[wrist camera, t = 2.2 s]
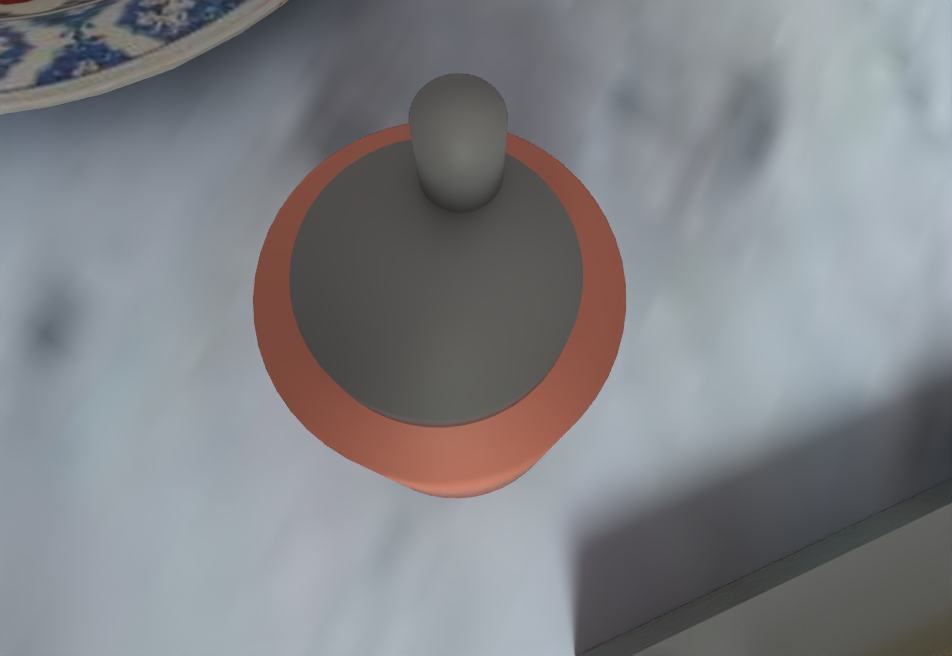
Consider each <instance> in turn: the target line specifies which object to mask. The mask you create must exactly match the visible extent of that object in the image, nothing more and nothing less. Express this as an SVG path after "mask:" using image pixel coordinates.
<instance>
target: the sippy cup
mask: <svg viewBox="0 0 952 656" xmlns="http://www.w3.org/2000/svg"><path fill="white" fill-rule="evenodd" d="M507 123H508V115H507V109H506V105H505V103H504V100H503V98H502V97H501V95H500V94H499V92H498V91H497V90H496V89H495V88H494V87H493V86H492V85H491V84H489V83H488V82H487V81H485V80H483V79H481V78H479V77H476V76H473V75H469V74H457V73H456V74H448V75H444V76H441V77H438V78H436V79H434V80H432V81H431V82H429V83H427V84H426V85H425V86H424V87H423V88H422V89H421V90H420V91H419V92H418V93H417V95H416V96H415V98H414V100H413V102H412V104H411V107H410V112H409V124H405V125H401V126H396V127H392V128H388V129H385V130H382V131H379V132H376V133H373V134H371V135H368V136H365V137H363V138H361V139H359V140H357V141H355V142H353V143H351V144H349V145H347V146H345V147H344V148H342V149H341V150H339V151H338V152H336V153H335V154H333V155H332V156H330V157H329V158H327V159H326V160H325V161H323V162H322V163H321V164H320V165H319V166H317V167H316V168H315V169H314V170H313V171H312V172H310V173H309V174H308V175H307V176H306V177H305V179H304V180H303V181H302V182H301V183H300V184H299V185H298V186H297V187H296V188H295V189H294V191H293V192H292V193H291V195H290V196H289V197H288V199H287V200H286V202H285V203H284V205H283V206H282V207H281V209H280V210H279V212H278V214H277V216H276V218H275V220H274V222H273V223H272V225H271V227H270V229H269V231H268V234H267V236H266V239H265V242H264V245H263V247H262V250H261V253H260V257H259V261H258V266H257V270H256V275H255V284H254V295H253V307H254V324H255V330H256V335H257V340H258V346H259V349H260V352H261V355H262V358H263V361H264V364H265V367H266V370H267V372H268V374H269V376H270V378H271V380H272V382H273V384H274V386H275V388H276V390H277V392H278V393H279V395H280V396H281V398H282V399H283V400H284V402H285V403H286V405H287V406H288V408H289V409H290V411H291V412H292V413H293V414H294V415H295V416H296V417H297V419H298V420H299V421H300V422H301V423H302V424H303V425H304V426H305V427H306V429H307V430H309V431H310V432H311V433H312V434H313V435H315V436H316V437H317V438H318V439H319V440H321V441H322V442H323V443H324V444H325V445H327V446H328V447H330V448H331V449H333V450H335V451H336V452H338V453H339V454H341V455H342V456H344V457H346V458H347V459H349V460H351V461H353V462H356V463H358V464H360V465H362V466H364V467H366V468H368V469H370V470H372V471H375V472H377V473H379V474H381V475H383V476H385V477H387V478H389V479H391V480H394V481H396V482H398V483H400V484H402V485H404V486H406V487H409V488H411V489H413V490H415V491H418V492H421V493H424V494H428V495H431V496H437V497H444V498H465V497H475V496H479V495H483V494H487V493H490V492H493V491H495V490H498V489H500V488H503V487H504V486H506V485H508V484H510V483H512V482H513V481H515V480H516V479H518V478H519V477H521V476H522V475H523V474H525V473H526V472H527V471H528V470H529V469H530V468H531V467H532V466H533V465H534V464H535V463H536V462H537V461H538V460H539V459H540V458H541V457H542V456H543V455H544V454H545V453H546V452H547V451H548V450H549V449H550V448H551V447H552V446H553V445H554V444H555V443H556V442H557V441H558V440H559V439H560V438H561V437H562V436H563V435H564V434H565V433H566V432H567V431H568V430H569V429H570V428H571V427H572V426H573V425H574V424H575V423H576V422H577V421H578V420H579V419H580V418H581V416H582V415H583V414H584V413H585V411H586V410H587V409H588V407H589V406H590V405H591V404H592V402H593V401H594V400H595V399H596V397H597V395H598V393H599V392H600V390H601V388H602V387H603V385H604V383H605V381H606V380H607V378H608V376H609V373H610V371H611V368H612V366H613V364H614V361H615V359H616V356H617V353H618V350H619V346H620V342H621V338H622V334H623V329H624V321H625V312H626V284H625V277H624V270H623V264H622V259H621V256H620V252H619V249H618V246H617V242H616V239H615V237H614V234H613V232H612V230H611V228H610V225H609V223H608V221H607V219H606V217H605V215H604V214H603V212H602V210H601V209H600V207H599V205H598V204H597V202H596V201H595V199H594V198H593V196H592V195H591V194H590V193H589V191H588V190H587V189H586V188H585V186H584V185H583V184H582V183H581V181H580V180H579V179H578V178H577V177H576V176H575V175H573V174H572V173H571V172H570V171H569V170H568V169H567V168H566V167H565V166H564V165H563V164H562V163H560V162H559V161H558V160H556V159H555V158H554V157H552V156H551V155H549V154H548V153H547V152H545V151H544V150H542V149H540V148H539V147H537V146H535V145H533V144H531V143H530V142H528V141H526V140H524V139H522V138H519V137H517V136H515V135H512V134H510V133H507Z"/></svg>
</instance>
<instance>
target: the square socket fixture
mask: <svg viewBox="0 0 952 656" xmlns="http://www.w3.org/2000/svg"><path fill="white" fill-rule="evenodd" d="M578 656H952V478H951V479H949V480H947V481H945V482H943V483H941V484H939V485H936V486H934V487H932V488H930V489H928V490H926V491H924V492H922V493H920V494H917V495H915V496H913V497H911V498H909V499H907V500H905V501H903V502H901V503H899V504H896V505H894V506H892V507H890V508H888V509H886V510H884V511H882V512H880V513H877V514H875V515H873V516H871V517H869V518H867V519H865V520H863V521H861V522H858V523H856V524H854V525H852V526H850V527H848V528H846V529H844V530H842V531H839V532H837V533H835V534H833V535H831V536H829V537H827V538H825V539H823V540H820V541H818V542H816V543H814V544H812V545H810V546H808V547H806V548H804V549H802V550H799V551H797V552H795V553H793V554H791V555H789V556H787V557H785V558H783V559H780V560H778V561H776V562H774V563H772V564H770V565H768V566H766V567H764V568H761V569H759V570H757V571H755V572H753V573H751V574H749V575H747V576H745V577H742V578H740V579H738V580H736V581H734V582H732V583H730V584H728V585H726V586H723V587H721V588H719V589H717V590H715V591H713V592H711V593H709V594H707V595H704V596H702V597H700V598H698V599H696V600H694V601H692V602H690V603H688V604H686V605H683V606H681V607H679V608H677V609H675V610H673V611H671V612H669V613H667V614H664V615H662V616H660V617H658V618H656V619H654V620H652V621H650V622H648V623H645V624H643V625H641V626H639V627H637V628H635V629H633V630H631V631H629V632H626V633H624V634H622V635H620V636H618V637H616V638H614V639H612V640H610V641H607V642H605V643H603V644H601V645H599V646H597V647H595V648H593V649H591V650H589V651H586V652H584V653H582V654H580V655H578Z"/></svg>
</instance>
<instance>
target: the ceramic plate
mask: <svg viewBox="0 0 952 656" xmlns="http://www.w3.org/2000/svg"><path fill="white" fill-rule="evenodd" d="M287 1H288V0H0V114H7V113H13V112H20V111H26V110H33V109H39V108H45V107H52V106H56V105H60V104H64V103H68V102H72V101H77V100H81V99H85V98H89V97H93V96H97V95H101V94H104V93H107V92H110V91H113V90H115V89H118V88H121V87H124V86H127V85H130V84H132V83H135V82H138V81H141V80H144V79H147V78H149V77H152V76H155V75H158V74H161V73H164V72H166V71H169V70H172V69H174V68H176V67H178V66H180V65H182V64H184V63H186V62H187V61H189V60H191V59H193V58H195V57H197V56H199V55H201V54H203V53H205V52H207V51H208V50H210V49H212V48H214V47H216V46H218V45H220V44H222V43H224V42H226V41H228V40H229V39H231V38H233V37H235V36H237V35H239V34H241V33H242V32H244V31H245V30H247V29H248V28H250V27H251V26H253V25H254V24H256V23H257V22H259V21H260V20H262V19H263V18H265V17H266V16H268V15H269V14H271V13H272V12H274V11H275V10H277V9H278V8H280V7H281V6H282V5H283V4H285V3H286V2H287Z"/></svg>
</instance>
